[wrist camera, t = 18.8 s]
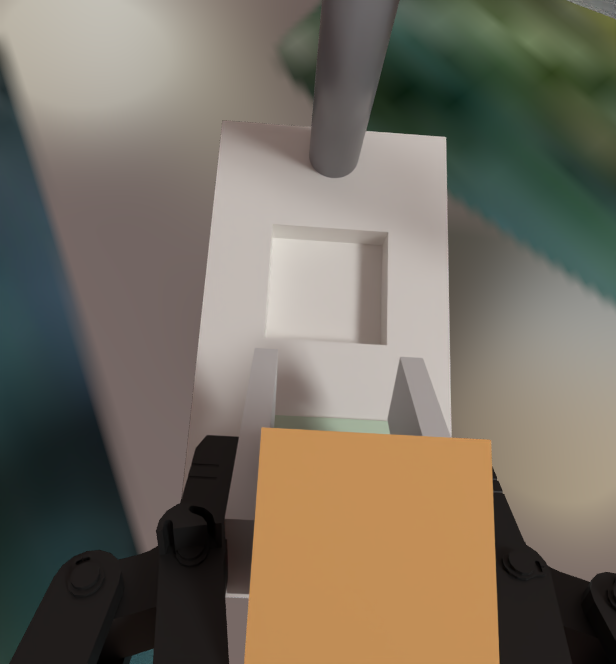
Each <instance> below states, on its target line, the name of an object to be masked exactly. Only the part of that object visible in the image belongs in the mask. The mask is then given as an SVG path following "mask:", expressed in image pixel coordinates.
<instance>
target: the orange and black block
mask: <svg viewBox="0 0 616 664" xmlns="http://www.w3.org/2000/svg"><path fill="white" fill-rule="evenodd" d="M244 664H500V663H499V637H498V610H497V584H496V558H495V532H494V506H493V479H492V454H491V440H485V439H467V438H448V437H430V436H412V435H393V434H375V433H357V432H338V431H320V430H302V429H283V428H265V427H261V441H260V455H259V468H258V482H257V496H256V509H255V523H254V537H253V550H252V564H251V578H250V591H249V606H248V619H247V632H246V647H245V660H244Z"/></svg>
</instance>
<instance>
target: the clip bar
mask: <svg viewBox="0 0 616 664" xmlns="http://www.w3.org/2000/svg"><path fill="white" fill-rule="evenodd" d="M567 1H570V2H573V3H575V4H578V5H580V6H583V7H586V8H588V9H591V10H594V11H596V12H599V13H602V14H604V15H607V16H609V17H612V18H615V19H616V0H567Z"/></svg>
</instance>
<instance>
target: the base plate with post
mask: <svg viewBox="0 0 616 664" xmlns="http://www.w3.org/2000/svg"><path fill="white" fill-rule="evenodd" d="M398 4H399V0H322V8H321V19H320V31H319V43H318V55H317V67H316V78H315V90H314V102H313V114H312V127H305V126H292V125H279V124H265V123H253V122H240V121H227V120H223V121H222V129H221V138H220V148H219V157H218V166H217V175H216V184H215V194H214V203H213V212H212V221H211V231H210V240H209V250H208V259H207V268H206V277H205V286H204V295H203V305H202V314H201V323H200V333H199V341H198V351H197V360H196V369H195V379H194V388H193V397H192V407H191V416H190V425H189V434H188V443H187V452H186V462H185V471H184V480H183V490H182V495H183V492H184V488H185V484H186V481H187V479H188V474H189V470H190V466H191V463H192V459H193V456H194V452H195V448H196V447H197V446H198V445H199V443H200V442H201V441H202V440H203V439H204V438H205V436H206V435H217V436H236V437H239V435H240V429H241V423H242V418H243V412H244V406H245V401H246V395H247V389H248V384H249V378H250V372H251V367H252V361H253V355H254V350H255V348H265V349H278V362H277V384H276V406H275V421H274V428H283V429H302V430H320V431H338V432H357V433H375V434H390V430H389V425H388V421H387V419H388V414H389V409H390V404H391V399H392V394H393V389H394V384H395V379H396V374H397V369H398V365H399V360H400V357H415V358H423V360H424V363H425V365H426V368H427V371H428V374H429V377H430V379H431V382H432V385H433V388H434V391H435V394H436V396H437V399H438V402H439V405H440V408H441V411H442V413H443V416H444V419H445V422H446V425H447V428H448V430H449V433H450V436H451V392H450V391H451V387H450V334H449V333H450V332H449V278H448V222H447V167H446V137H436V136H423V135H410V134H397V133H384V132H371V131H366V129H367V125H368V121H369V117H370V113H371V109H372V105H373V101H374V97H375V94H376V90H377V86H378V82H379V78H380V74H381V70H382V66H383V62H384V58H385V55H386V51H387V47H388V43H389V39H390V35H391V31H392V27H393V23H394V19H395V16H396V12H397V8H398ZM225 597H234V598H236V597H237V598H249V594H229V593H227V589H226V596H225Z"/></svg>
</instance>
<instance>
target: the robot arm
mask: <svg viewBox="0 0 616 664" xmlns="http://www.w3.org/2000/svg"><path fill="white" fill-rule="evenodd" d="M277 362H278V349H265V348H255V350H254V355H253V361H252V367H251V372H250V378H249V384H248V389H247V395H246V401H245V406H244V412H243V418H242V423H241V429H240V435H239V437H236V436H217V435H206V436H205V438H204V439H203V440H202V441H201V442H200V443H199V445H198V446H197V447H196V448H195V452H194V456H193V459H192V463H191V466H190V470H189V474H188V479H187V481H186V484H185V488H184V492H183V495H182V499H181V503H180V504H177V505H176V506H174V507H172V508H171V509H169V510H168V511H167V512H166V513H165V514H164V515H163V516H162V518H161V519H160V520H159V523H158V527H157V530H156V533H157V540H158V546H157V547H156V548H154V549H152V550H150V551H148V552H145V553H142V554H139V555H135V556H131V557H127V558H124V559H120V560H117V559H116V558H115V557H114V556H113V555H112V554H111V553H108V552H105V551H101V550H95V551H86V552H84V553H81V554H79V555H77V556H74V557H73V558H71V559H70V560H69V561H68V562H66V563H65V564H64V565H62V567H61V568H60V569H59V571H58V572H57V573H56V575H55V576H54V578H53V580H52V582H51V584H50V586H49V588H48V589H47V591H46V593H45V595H44V597H43V599H42V601H41V603H40V605H39V607H38V609H37V611H36V613H35V615H34V617H33V619H32V621H31V622H30V624H29V626H28V628H27V630H26V632H25V634H24V636H23V638H22V640H21V642H20V644H19V646H18V648H17V650H16V652H15V654H14V656H13V657H12V659H11V661H10V663H9V664H129V663H130V660H131V657H132V655H135V654H138V653H141V652H144V651H147V650H150V649H153V648H154V656H153V664H229V658H228V657H229V656H228V638H227V621H226V604H225V596H226V589H227V593H229V594H249V591H250V578H251V564H252V550H253V537H254V523H255V509H256V496H257V482H258V468H259V455H260V441H261V427H265V428H274V421H275V406H276V384H277ZM387 421H388V425H389V430H390V434H393V435H412V436H430V437H448V438H451V436H450V433H449V430H448V428H447V425H446V422H445V419H444V416H443V413H442V411H441V408H440V405H439V402H438V399H437V396H436V394H435V391H434V388H433V385H432V382H431V379H430V377H429V374H428V371H427V368H426V365H425V363H424V360H423V358H415V357H400V360H399V365H398V369H397V374H396V379H395V384H394V389H393V394H392V399H391V404H390V409H389V414H388V419H387ZM492 479H493V506H494V532H495V558H496V584H497V610H498V637H499V663H500V664H616V574H615V573H610V572H605V573H600V574H597V575H596V576H595V577H594V578H593V579H592V580H591V582H588V581H585V580H582V579H580V578H577V577H574V576H570V575H568V574H565V573H562V572H559V571H557V570H555V569H552V568H551V567H549V566H547V564H546V562H545V561H544V560H543V559H542V557H541V556H540V555H539V554H538V553H537V552H536V551H534V550H533V549H532V548H530V547H529V546H527V545H526V543H525V542H524V540H523V538H522V535H521V533H520V531H519V528H518V526H517V524H516V521H515V519H514V516H513V514H512V512H511V510H510V507H509V505H508V503H507V500H506V498H505V495H504V494H503V493H502V488H501V486H500V483H499V481H497V476H496V474H495V472H494V469H493V467H492Z"/></svg>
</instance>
